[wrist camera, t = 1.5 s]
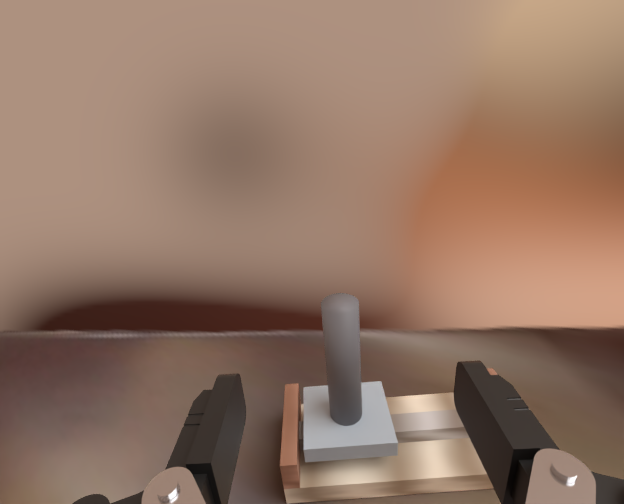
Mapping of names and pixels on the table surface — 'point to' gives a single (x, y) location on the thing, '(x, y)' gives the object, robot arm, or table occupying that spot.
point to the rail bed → (389, 469)
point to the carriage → (345, 395)
